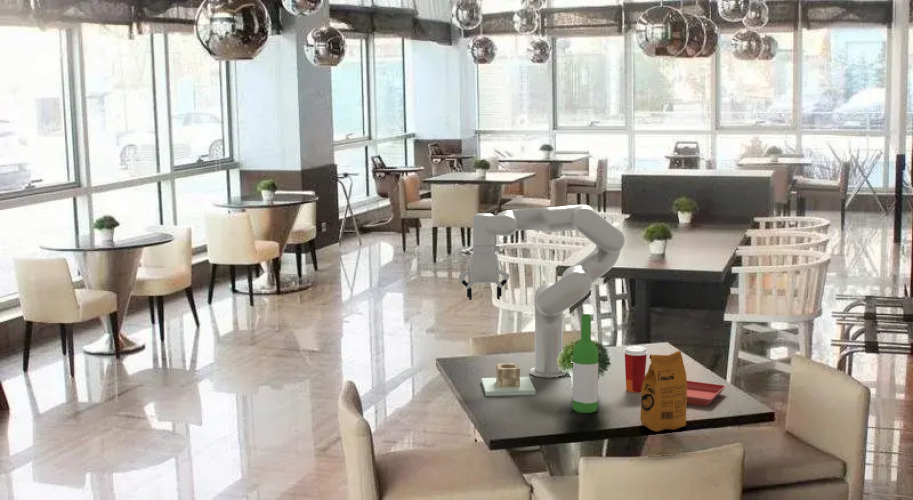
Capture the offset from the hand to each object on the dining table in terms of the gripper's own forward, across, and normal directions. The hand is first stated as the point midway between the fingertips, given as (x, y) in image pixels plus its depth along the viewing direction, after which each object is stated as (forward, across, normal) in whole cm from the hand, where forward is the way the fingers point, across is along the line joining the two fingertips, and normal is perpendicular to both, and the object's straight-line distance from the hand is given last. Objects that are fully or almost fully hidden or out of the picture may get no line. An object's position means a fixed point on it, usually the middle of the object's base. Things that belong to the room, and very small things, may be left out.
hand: (484, 299), depth 384 cm
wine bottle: (+26, -27, +45) cm, 59 cm away
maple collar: (+25, -6, +19) cm, 32 cm away
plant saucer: (+27, -63, +34) cm, 76 cm away
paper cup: (+26, -47, +25) cm, 59 cm away
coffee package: (+26, -47, +62) cm, 82 cm away
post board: (+26, -6, +19) cm, 33 cm away
